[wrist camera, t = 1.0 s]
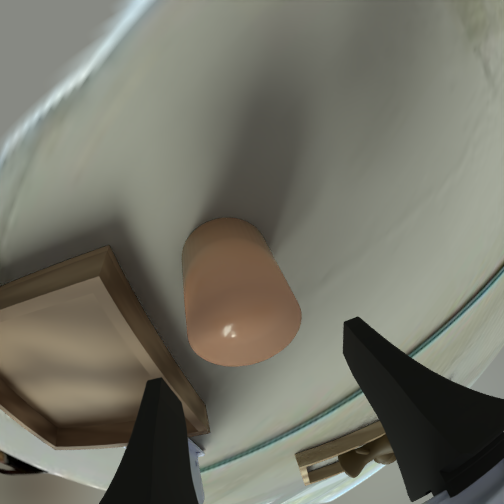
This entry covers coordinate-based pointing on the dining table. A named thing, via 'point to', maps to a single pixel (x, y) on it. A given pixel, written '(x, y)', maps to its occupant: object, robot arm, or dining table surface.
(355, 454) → the kendama
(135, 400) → the walnut tray
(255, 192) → the dining table surface
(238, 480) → the dining table surface
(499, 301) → the dining table surface
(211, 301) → the tan rounded cylinder
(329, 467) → the oak frame
